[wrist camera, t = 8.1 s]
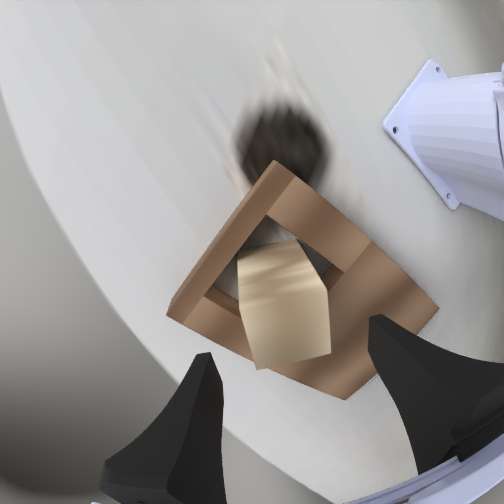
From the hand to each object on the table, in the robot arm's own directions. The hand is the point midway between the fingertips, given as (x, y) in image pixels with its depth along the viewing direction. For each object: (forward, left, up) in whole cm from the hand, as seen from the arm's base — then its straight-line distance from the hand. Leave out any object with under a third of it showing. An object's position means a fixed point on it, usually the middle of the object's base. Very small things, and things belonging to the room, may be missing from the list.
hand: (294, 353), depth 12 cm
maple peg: (0, 0, -8) cm, 8 cm away
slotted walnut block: (-4, 0, -8) cm, 10 cm away
